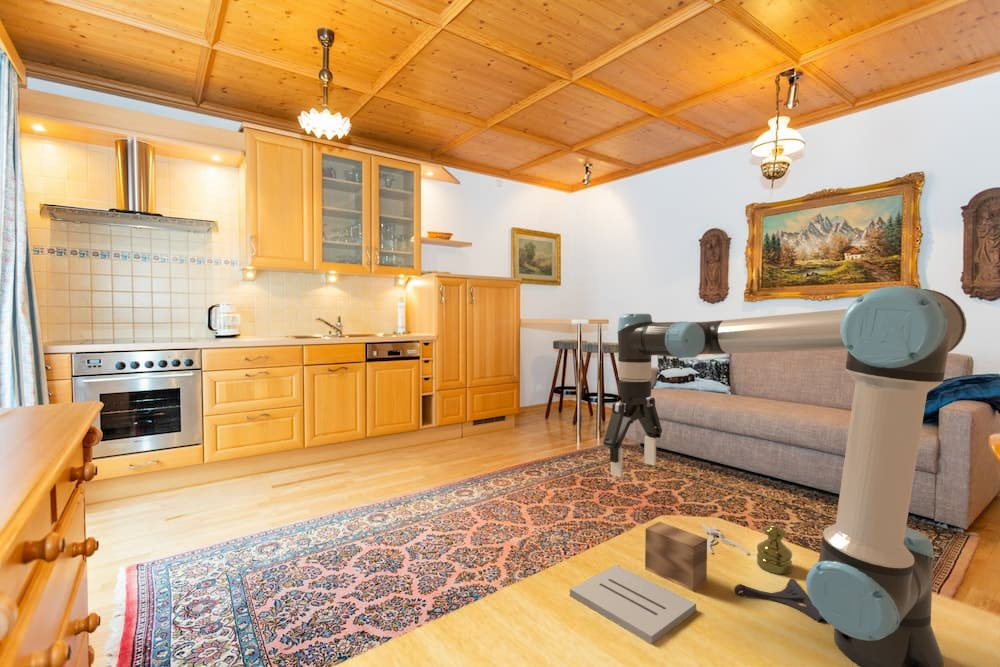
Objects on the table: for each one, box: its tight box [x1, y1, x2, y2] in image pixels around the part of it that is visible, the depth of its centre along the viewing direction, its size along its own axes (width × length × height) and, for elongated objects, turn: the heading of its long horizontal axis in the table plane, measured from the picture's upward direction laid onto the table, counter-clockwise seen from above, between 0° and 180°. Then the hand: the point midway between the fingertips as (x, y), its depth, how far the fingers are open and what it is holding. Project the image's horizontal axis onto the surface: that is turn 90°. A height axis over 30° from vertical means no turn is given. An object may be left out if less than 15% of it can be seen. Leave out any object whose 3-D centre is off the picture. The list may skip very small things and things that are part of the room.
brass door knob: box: [756, 524, 793, 575], centre depth 116 cm, size 7×7×10 cm
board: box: [569, 564, 697, 645], centre depth 101 cm, size 20×16×2 cm
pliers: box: [701, 524, 750, 556], centre depth 129 cm, size 10×2×15 cm
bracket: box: [733, 578, 828, 624], centre depth 103 cm, size 14×15×3 cm
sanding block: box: [644, 521, 708, 592], centre depth 112 cm, size 12×6×10 cm, turn 40°
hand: (633, 469), depth 113 cm, fingers open, 13 cm apart
